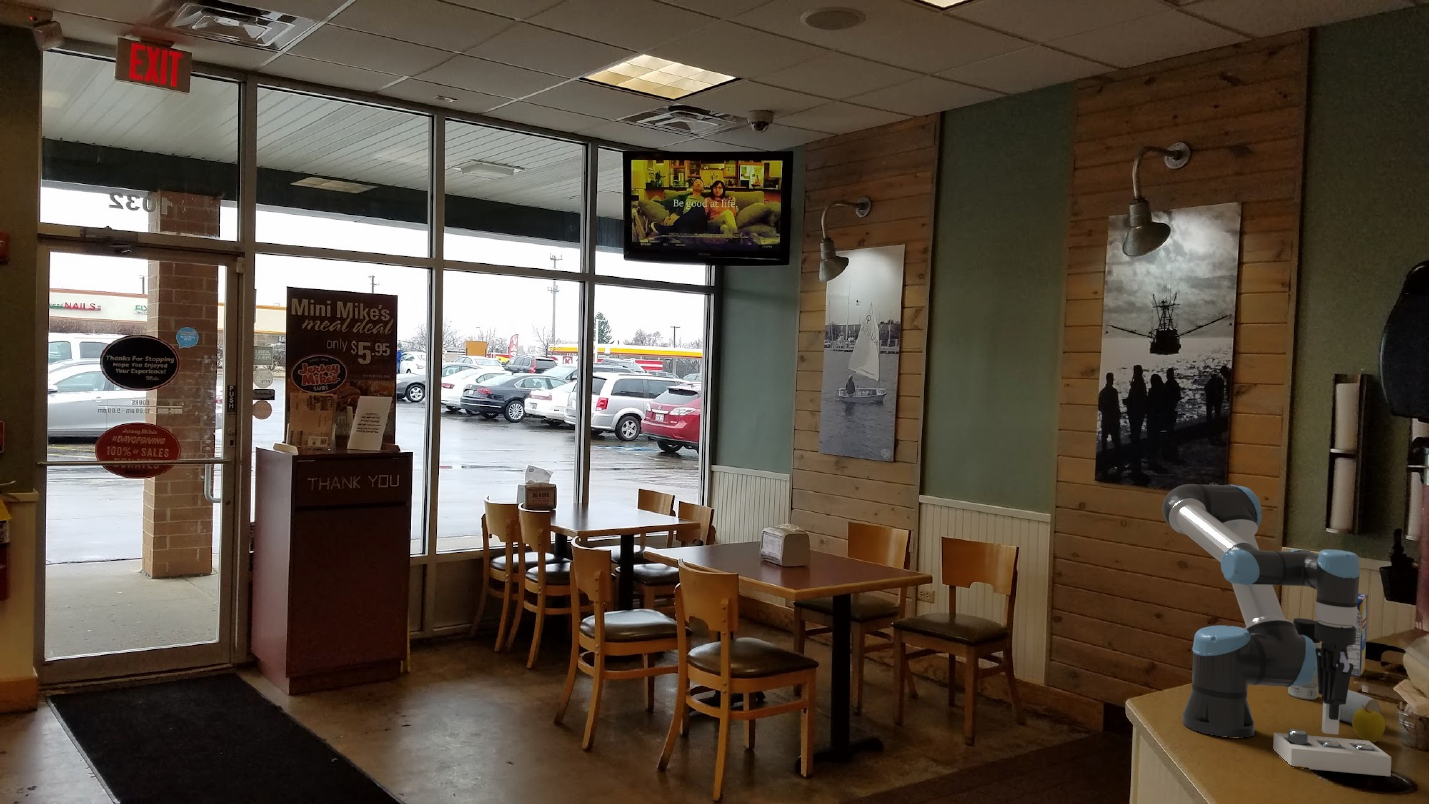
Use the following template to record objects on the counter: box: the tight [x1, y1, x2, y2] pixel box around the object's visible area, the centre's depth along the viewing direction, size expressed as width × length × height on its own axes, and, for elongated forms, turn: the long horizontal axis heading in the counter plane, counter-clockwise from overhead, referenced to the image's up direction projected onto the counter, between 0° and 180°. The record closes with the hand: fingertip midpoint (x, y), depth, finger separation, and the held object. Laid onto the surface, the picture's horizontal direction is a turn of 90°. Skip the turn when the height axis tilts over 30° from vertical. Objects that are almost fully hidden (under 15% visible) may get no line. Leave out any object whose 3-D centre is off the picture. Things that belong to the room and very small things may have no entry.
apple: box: [1351, 705, 1386, 744], centre depth 227 cm, size 6×6×8 cm
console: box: [1272, 732, 1392, 777], centre depth 212 cm, size 19×10×4 cm, turn 80°
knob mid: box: [1321, 741, 1341, 749], centre depth 212 cm, size 4×4×4 cm
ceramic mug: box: [1339, 689, 1381, 724], centre depth 241 cm, size 11×8×8 cm
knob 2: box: [1354, 744, 1374, 752], centre depth 211 cm, size 4×4×4 cm
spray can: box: [1287, 617, 1321, 701], centre depth 261 cm, size 7×7×20 cm
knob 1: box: [1287, 728, 1309, 746], centre depth 213 cm, size 4×4×4 cm
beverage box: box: [1347, 593, 1369, 678], centre depth 288 cm, size 7×11×22 cm, turn 140°
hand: (1330, 732), depth 213 cm, fingers closed
